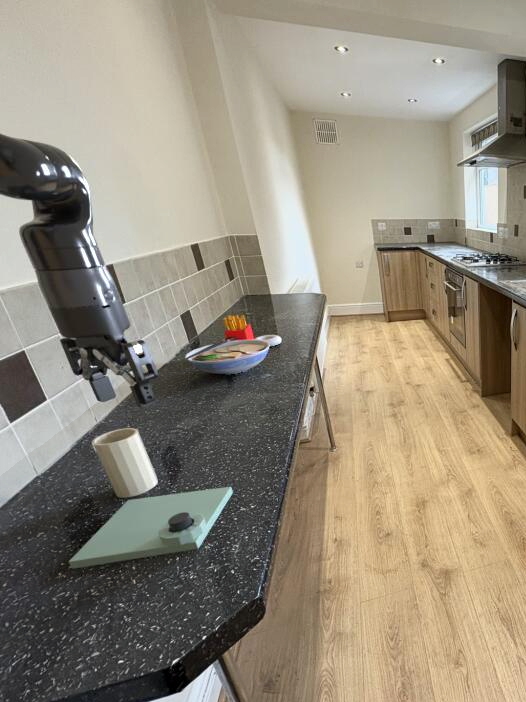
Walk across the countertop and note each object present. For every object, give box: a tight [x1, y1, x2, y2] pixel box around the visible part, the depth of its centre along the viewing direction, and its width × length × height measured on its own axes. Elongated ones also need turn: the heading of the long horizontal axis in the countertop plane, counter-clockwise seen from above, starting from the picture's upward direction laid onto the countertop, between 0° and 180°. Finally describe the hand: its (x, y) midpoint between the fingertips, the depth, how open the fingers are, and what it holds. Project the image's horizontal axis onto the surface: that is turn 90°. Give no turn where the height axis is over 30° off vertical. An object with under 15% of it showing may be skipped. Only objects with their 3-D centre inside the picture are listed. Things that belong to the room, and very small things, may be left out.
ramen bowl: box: [178, 336, 270, 376], centre depth 131 cm, size 25×23×8 cm
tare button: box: [168, 512, 193, 533], centre depth 63 cm, size 3×3×2 cm
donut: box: [254, 334, 283, 346], centre depth 157 cm, size 10×4×10 cm
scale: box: [68, 486, 234, 570], centre depth 66 cm, size 16×14×3 cm
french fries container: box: [221, 314, 255, 341], centre depth 145 cm, size 7×9×14 cm
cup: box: [91, 427, 159, 499], centre depth 74 cm, size 6×6×11 cm
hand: (127, 402), depth 65 cm, fingers open, 8 cm apart
